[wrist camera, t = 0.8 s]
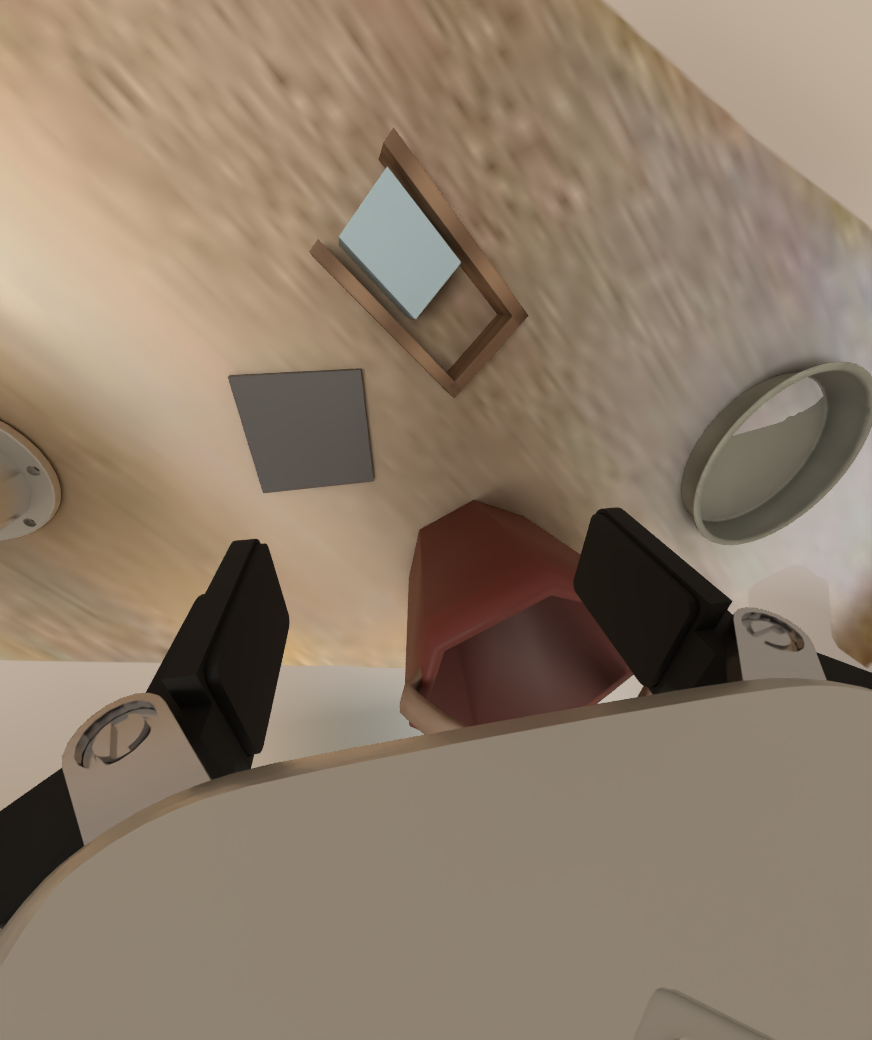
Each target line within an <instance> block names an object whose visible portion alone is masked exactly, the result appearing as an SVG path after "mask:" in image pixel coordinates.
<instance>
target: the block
mask: <svg viewBox="0 0 872 1040" xmlns="http://www.w3.org/2000/svg"><path fill="white" fill-rule="evenodd" d="M339 246H340V247H341V248H342V249H343V250H344V251H345V252H346V253H347V254H348V255H349V256H350V257H351V258H352V260H353V261H354V262H355V263H356V264H357V265H358V266H359V267H360V268H361V269H362V270H363V271H364V272H365V273H366V274H367V276H368V277H369V278H370V279H371V280H372V281H373V282H374V283H375V284H376V285H377V286H378V287H379V288H380V289H381V290H382V291H383V293H384V294H385V295H386V296H387V297H388V298H389V299H390V300H391V301H392V302H393V303H394V304H395V305H396V306H397V307H398V309H399V310H400V311H401V312H402V313H403V314H404V315H405V316H406V317H409V318H412V319H416V318H417V317H418V316H419V315H420V313H421V312H422V311H423V310H424V308H425V307H426V306H427V305H428V303H429V302H430V301H431V300H432V298H433V297H434V296H435V295H436V293H437V292H438V291H439V290H440V288H441V287H442V286H443V285H444V283H445V282H446V281H447V280H448V278H449V277H450V276H451V275H452V273H453V272H454V271H455V270H456V268H457V267H458V266H459V265H460V263H461V262H460V260H459V259H458V258H457V256H456V255H455V254H454V252H453V251H452V250H451V249H450V247H449V246H448V245H447V243H446V242H445V241H444V239H443V238H442V237H441V236H440V234H439V233H438V232H437V230H436V229H435V228H434V226H433V225H432V224H431V223H430V221H429V220H428V219H427V217H426V216H425V215H424V213H423V212H422V211H421V210H420V208H419V207H418V206H417V204H416V203H415V202H414V200H413V199H412V198H411V196H410V195H409V194H408V193H407V191H406V190H405V189H404V187H403V186H402V185H401V183H400V182H399V181H398V180H397V178H396V177H395V176H394V174H393V173H392V172H391V170H390V169H389V168H388V167H386V169H385V170H384V172H383V173H382V175H381V176H380V178H379V179H378V181H377V182H376V183H375V185H374V186H373V188H372V189H371V191H370V192H369V194H368V195H367V197H366V198H365V200H364V201H363V202H362V204H361V205H360V207H359V208H358V210H357V211H356V213H355V214H354V216H353V217H352V218H351V220H350V221H349V223H348V224H347V226H346V227H345V229H344V230H343V232H342V233H341V234H340V236H339Z"/></svg>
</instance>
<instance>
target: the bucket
mask: <svg viewBox="0 0 872 1040" xmlns="http://www.w3.org/2000/svg"><path fill="white" fill-rule="evenodd" d="M580 556H581V555H580V554H579V553H577V552H576V551H574V550H573V549H571V548H570V547H568V546H567V545H565V544H564V543H562V542H561V541H559V540H558V539H556V538H555V537H553V536H552V535H550V534H549V533H547V532H546V531H544V530H543V529H541V528H540V527H538V526H537V525H536V524H534V523H533V522H531V521H530V520H528V519H527V518H525V517H524V516H521V515H518V514H515V513H512V512H509V511H506V510H503V509H500V508H497V507H494V506H491V505H487V504H484V503H481V502H478V501H475V500H473V501H471V502H469V503H467V504H466V505H464V506H462V507H460V508H458V509H457V510H455V511H453V512H451V513H449V514H447V515H446V516H444V517H442V518H440V519H438V520H437V521H435V522H433V523H431V524H429V525H428V526H426V527H424V528H422V529H420V530H419V534H418V539H417V543H416V548H415V553H414V557H413V562H412V566H411V571H410V576H409V592H408V618H407V645H406V672H405V686H404V690H403V693H402V697H401V701H400V713H401V714H402V715H404V717H405V718H406V719H407V720H409V725H410V726H411V727H414V728H416V729H418V730H420V731H421V732H422V733H424V735H426V734H431V733H437V732H442V731H448V730H453V729H459V728H464V727H470V726H476V725H481V724H487V723H493V722H498V721H504V720H510V719H515V718H521V717H526V716H532V715H538V714H544V713H549V712H555V711H561V710H566V709H572V708H578V707H584V706H589V705H595V704H597V703H598V702H600V701H601V700H602V699H603V698H605V697H606V696H607V695H609V694H610V693H611V692H612V691H613V690H615V689H616V688H617V687H619V686H620V685H621V684H622V683H623V682H625V681H626V680H627V679H629V678H630V677H631V676H632V675H634V674H633V672H632V671H631V670H630V668H629V667H628V665H627V664H626V663H625V661H624V660H623V658H622V657H621V656H620V654H619V653H618V651H617V650H616V649H615V647H614V646H613V644H612V643H611V641H610V640H609V639H608V637H607V636H606V634H605V633H604V632H603V630H602V629H601V627H600V626H599V625H598V623H597V622H596V620H595V619H594V618H593V616H592V615H591V613H590V612H589V611H588V609H587V608H586V606H585V605H584V603H583V602H582V601H581V599H580V598H579V596H578V595H577V594H576V592H575V590H574V586H573V580H574V577H575V573H576V570H577V566H578V563H579V559H580ZM648 695H653V694H652V693H651V692H650V690H649V689H648V687H646V686H644V687H643V688H642V690H641V692H640V693H639V695H638V697H642V696H648Z"/></svg>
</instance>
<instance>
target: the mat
mask: <svg viewBox="0 0 872 1040" xmlns="http://www.w3.org/2000/svg"><path fill="white" fill-rule="evenodd" d="M228 379H229V382H230V385H231V389H232V392H233V395H234V399H235V402H236V405H237V408H238V412H239V415H240V418H241V422H242V425H243V428H244V432H245V435H246V438H247V441H248V445H249V448H250V451H251V455H252V458H253V461H254V464H255V468H256V471H257V474H258V478H259V481H260V484H261V488H262V491H263V493H269V492H278V491H288V490H297V489H306V488H316V487H325V486H334V485H344V484H353V483H362V482H371V481H374V480H373V471H372V463H371V454H370V446H369V437H368V428H367V420H366V411H365V403H364V394H363V385H362V377H361V369H342V370H323V371H303V372H284V373H264V374H244V375H230V376H229V377H228Z"/></svg>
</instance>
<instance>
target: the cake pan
mask: <svg viewBox="0 0 872 1040" xmlns="http://www.w3.org/2000/svg"><path fill="white" fill-rule="evenodd" d="M806 377H809V378H811V379H813V380H815V381H816V382H817V383H818V384H819V386H820V387H821V390H822V392H823V396H824V397H823V398H821V399H820V400H819V401H818V402H817V403H816V404H815V405H813V406H812V407H810V408H808V409H807V410H805V411H803V412H800V413H798V414H796V415H795V416H790V417H788V418H787V419H785V420H784V421H783V422H780V423H777V424H774V425H770V426H767V427H763V428H760V429H756V430H753V431H749V432H746V433H742V434H739V435H735V436H733V434H734V433H735V432H736V431H737V430H738V428H739V427H740V426H741V425H742V424H743V423H744V422H745V421H746V420H747V419H748V418H749V417H750V416H751V415H752V414H753V413H754V412H755V411H756V410H757V409H758V408H759V407H761V406H762V405H763V404H764V403H765V402H766V401H768V400H769V399H770V398H772V397H773V396H774V395H776V394H777V393H779V392H780V391H782V390H783V389H785V388H787V387H788V386H790V385H791V384H793V383H795V382H797V381H799V380H801V379H804V378H806ZM871 427H872V376H871V375H870V374H869V372H868V371H867V370H865V369H864V368H863V367H861V366H859V365H857V364H853V363H849V362H832V363H826V364H822V365H818V366H815V367H812V368H809V369H806V370H804V371H802V372H798V373H787V374H782V375H778V376H775V377H772V378H770V379H767V380H765V381H763V382H761V383H759V384H757V385H755V386H754V387H752V388H750V389H749V390H747V391H746V392H744V393H743V394H741V395H740V396H739V397H737V398H736V399H735V400H734V401H733V402H731V403H730V404H729V405H728V406H727V407H726V408H725V409H724V410H723V411H722V412H721V413H720V414H719V415H718V416H717V417H716V418H715V419H714V420H713V421H712V422H711V424H710V425H709V426H708V427H707V429H706V430H705V431H704V433H703V434H702V436H701V437H700V439H699V440H698V442H697V443H696V445H695V447H694V449H693V450H692V452H691V455H690V457H689V459H688V461H687V464H686V467H685V470H684V473H683V478H682V485H681V493H682V499H683V503H684V505H685V507H686V509H687V510H688V512H689V513H690V514H691V515H692V516H693V517H694V520H695V523H696V526H697V528H698V530H699V531H700V533H701V534H702V535H703V536H704V537H705V538H707V539H708V540H710V541H712V542H714V543H718V544H723V545H738V544H744V543H748V542H752V541H755V540H758V539H761V538H763V537H766V536H768V535H770V534H772V533H774V532H776V531H778V530H780V529H782V528H784V527H785V526H787V525H789V524H790V523H792V522H793V521H795V520H796V519H797V518H799V517H800V516H802V515H803V514H804V513H805V512H807V511H808V510H809V509H811V508H812V507H813V506H814V505H815V504H816V503H818V502H819V501H820V500H821V499H822V498H823V497H824V496H825V495H826V494H827V493H828V492H829V491H830V490H831V489H832V488H833V487H834V486H835V484H836V483H837V482H838V481H839V480H840V479H841V477H842V476H843V475H844V474H845V472H846V471H847V470H848V468H849V467H850V466H851V464H852V463H853V461H854V460H855V458H856V457H857V455H858V453H859V452H860V450H861V448H862V447H863V445H864V443H865V441H866V439H867V436H868V434H869V432H870V429H871Z"/></svg>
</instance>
